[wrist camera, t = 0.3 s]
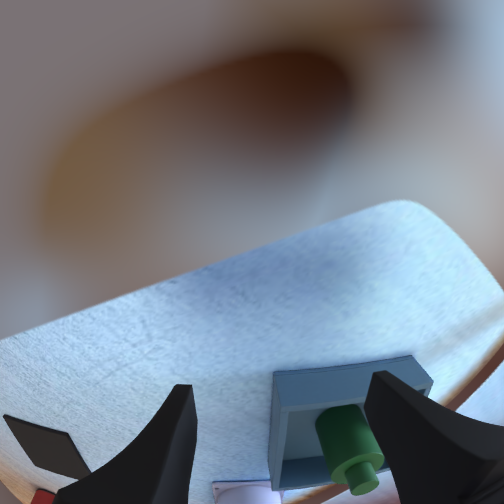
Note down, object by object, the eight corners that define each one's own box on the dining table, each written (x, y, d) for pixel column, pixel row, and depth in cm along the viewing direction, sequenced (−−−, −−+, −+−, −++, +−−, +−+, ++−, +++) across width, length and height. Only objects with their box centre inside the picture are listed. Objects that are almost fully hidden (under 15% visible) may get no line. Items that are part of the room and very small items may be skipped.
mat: (97, 481, 26) (96, 484, 26) (36, 463, 26) (35, 466, 25) (68, 433, 24) (66, 436, 23) (4, 414, 23) (2, 416, 23)
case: (379, 443, 26) (392, 469, 22) (267, 461, 26) (271, 491, 22) (412, 354, 23) (434, 381, 19) (273, 371, 22) (280, 406, 18)
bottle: (356, 431, 24) (383, 494, 17) (311, 438, 24) (331, 506, 17) (366, 399, 23) (400, 466, 16) (318, 406, 23) (343, 480, 15)
